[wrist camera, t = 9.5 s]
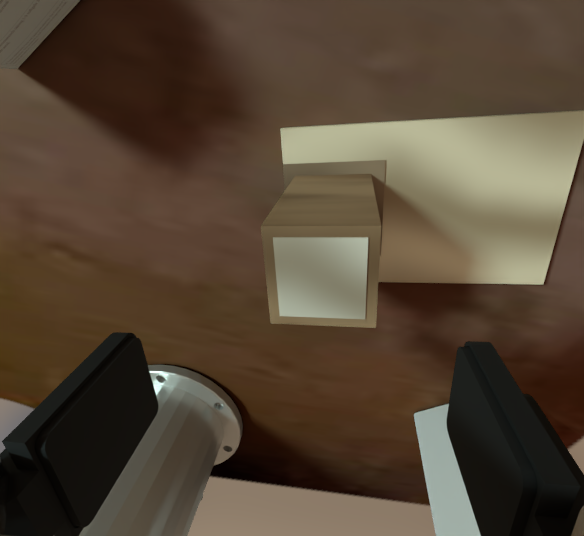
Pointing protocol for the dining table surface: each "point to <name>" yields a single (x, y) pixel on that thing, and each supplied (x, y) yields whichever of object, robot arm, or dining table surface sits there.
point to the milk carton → (443, 476)
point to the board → (454, 190)
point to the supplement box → (27, 26)
